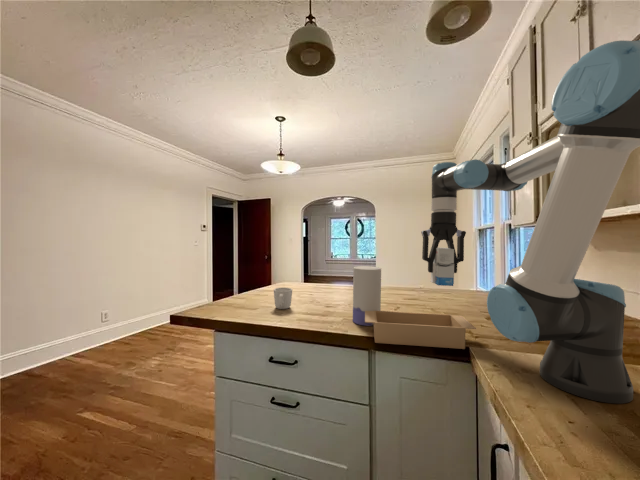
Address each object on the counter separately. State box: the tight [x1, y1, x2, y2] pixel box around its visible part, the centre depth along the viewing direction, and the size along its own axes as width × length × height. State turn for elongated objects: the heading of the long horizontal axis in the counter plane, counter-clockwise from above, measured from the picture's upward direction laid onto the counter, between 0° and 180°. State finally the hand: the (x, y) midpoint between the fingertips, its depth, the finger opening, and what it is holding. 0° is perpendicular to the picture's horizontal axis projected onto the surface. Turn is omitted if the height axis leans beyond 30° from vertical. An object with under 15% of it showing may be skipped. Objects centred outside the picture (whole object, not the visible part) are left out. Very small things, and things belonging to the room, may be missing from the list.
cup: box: [273, 287, 293, 310], centre depth 121 cm, size 11×8×8 cm
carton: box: [365, 310, 477, 350], centre depth 90 cm, size 13×31×6 cm, turn 81°
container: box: [352, 265, 382, 327], centre depth 105 cm, size 10×10×20 cm
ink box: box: [434, 247, 455, 287], centre depth 94 cm, size 8×5×12 cm, turn 171°
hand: (442, 282), depth 94 cm, fingers closed on ink box, 5 cm apart
